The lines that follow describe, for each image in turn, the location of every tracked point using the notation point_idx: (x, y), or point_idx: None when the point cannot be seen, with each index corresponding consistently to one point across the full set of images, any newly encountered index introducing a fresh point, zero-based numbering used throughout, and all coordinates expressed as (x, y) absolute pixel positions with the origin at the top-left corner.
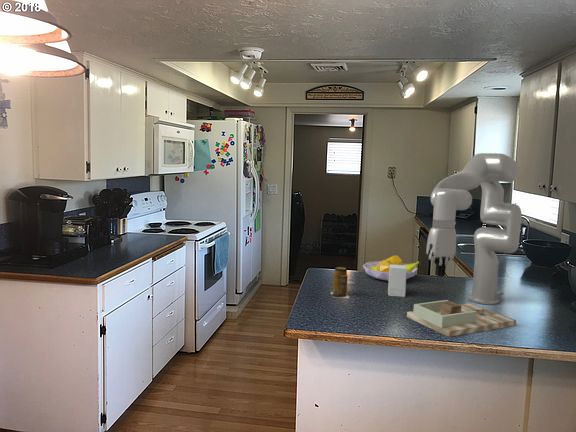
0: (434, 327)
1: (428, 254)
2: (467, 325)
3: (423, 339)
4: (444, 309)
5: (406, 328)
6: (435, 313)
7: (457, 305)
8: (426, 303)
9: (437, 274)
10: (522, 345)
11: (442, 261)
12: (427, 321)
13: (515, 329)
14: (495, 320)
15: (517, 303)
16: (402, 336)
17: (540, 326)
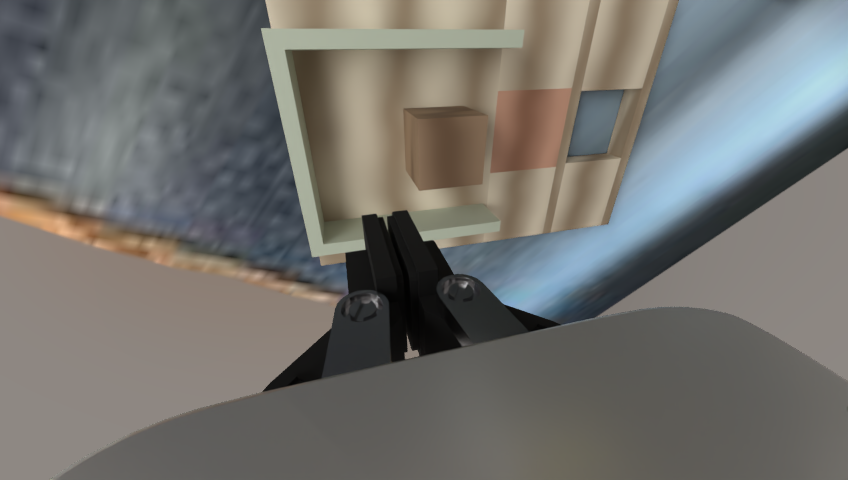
0: None
1: (142, 447)
2: None
3: (209, 256)
4: (412, 141)
5: (182, 135)
6: (304, 215)
7: (465, 178)
8: (359, 45)
9: (365, 245)
10: None
11: (452, 342)
12: None
13: (564, 241)
14: (553, 212)
15: (843, 22)
16: (121, 215)
17: (639, 237)
